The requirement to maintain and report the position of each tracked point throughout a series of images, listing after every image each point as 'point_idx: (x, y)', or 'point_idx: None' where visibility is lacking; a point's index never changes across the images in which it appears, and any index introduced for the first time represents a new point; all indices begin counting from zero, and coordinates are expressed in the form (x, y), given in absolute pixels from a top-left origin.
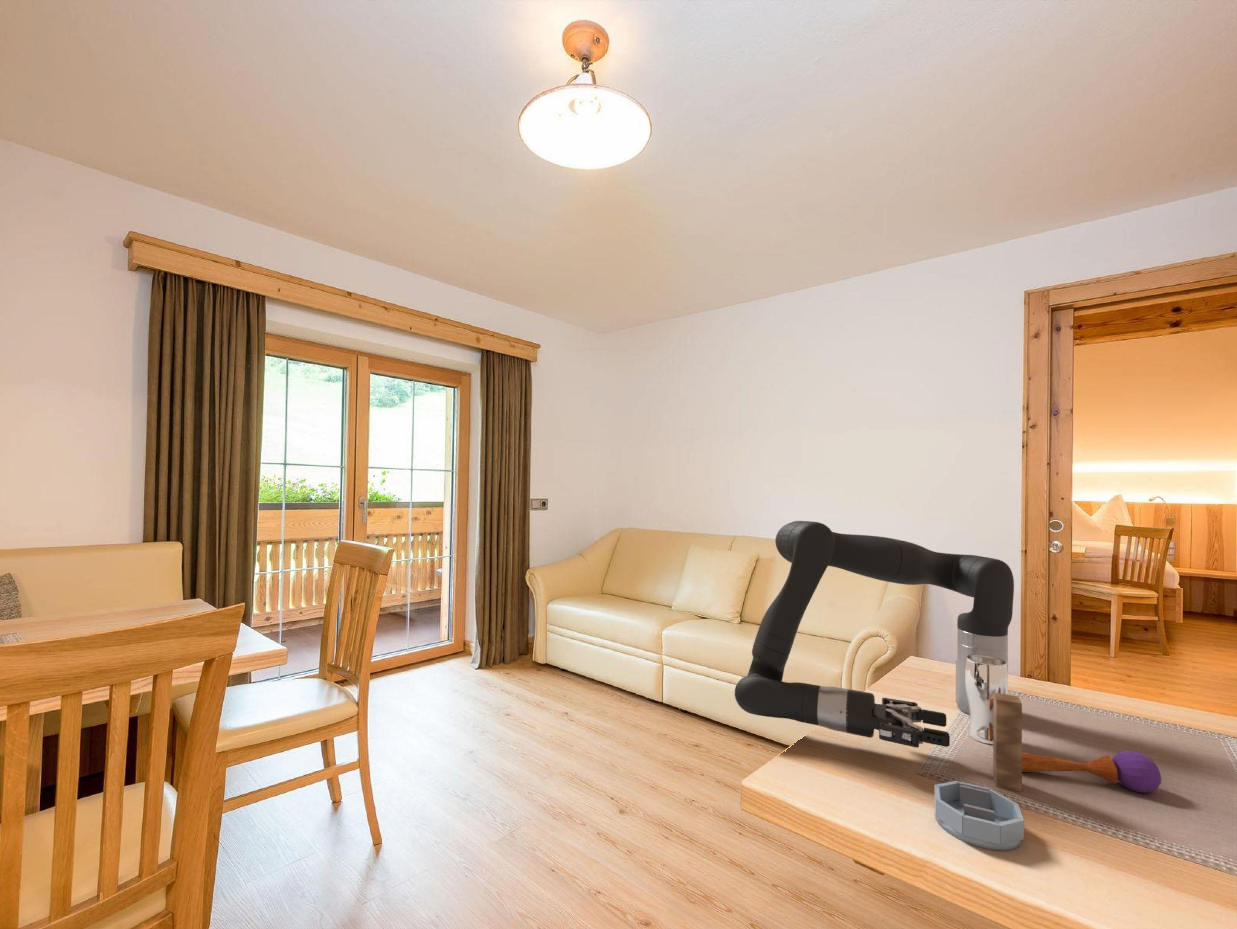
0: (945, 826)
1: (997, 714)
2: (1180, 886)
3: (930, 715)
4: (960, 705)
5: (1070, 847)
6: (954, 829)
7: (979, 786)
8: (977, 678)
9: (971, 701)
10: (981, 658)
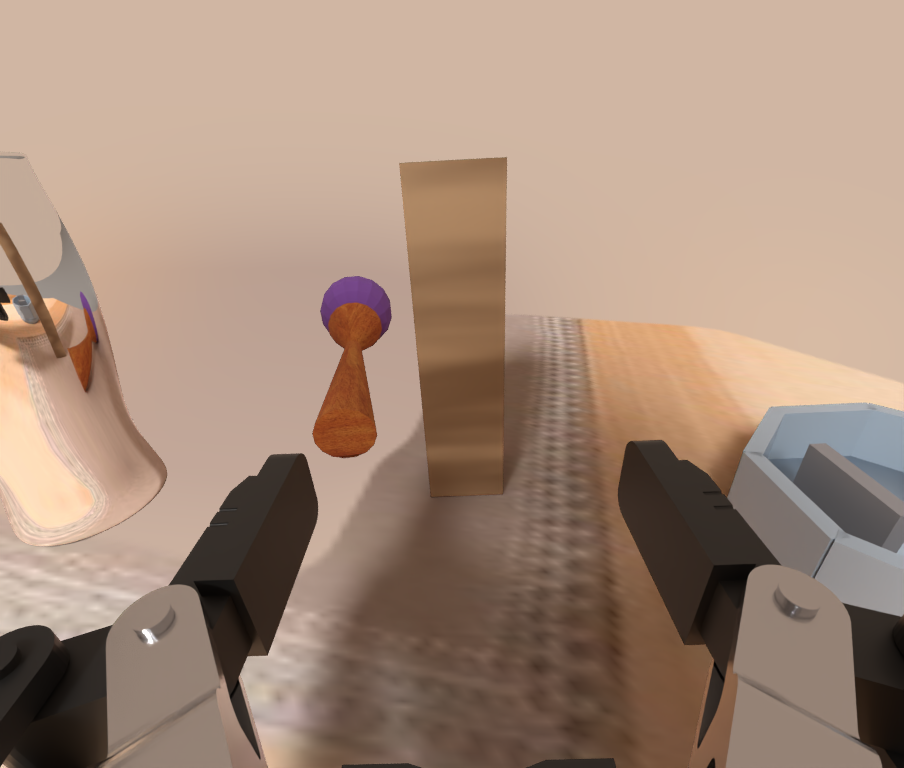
0: None
1: (505, 236)
2: (678, 341)
3: (270, 545)
4: None
5: (712, 407)
6: None
7: (771, 473)
8: None
9: (6, 401)
10: None
